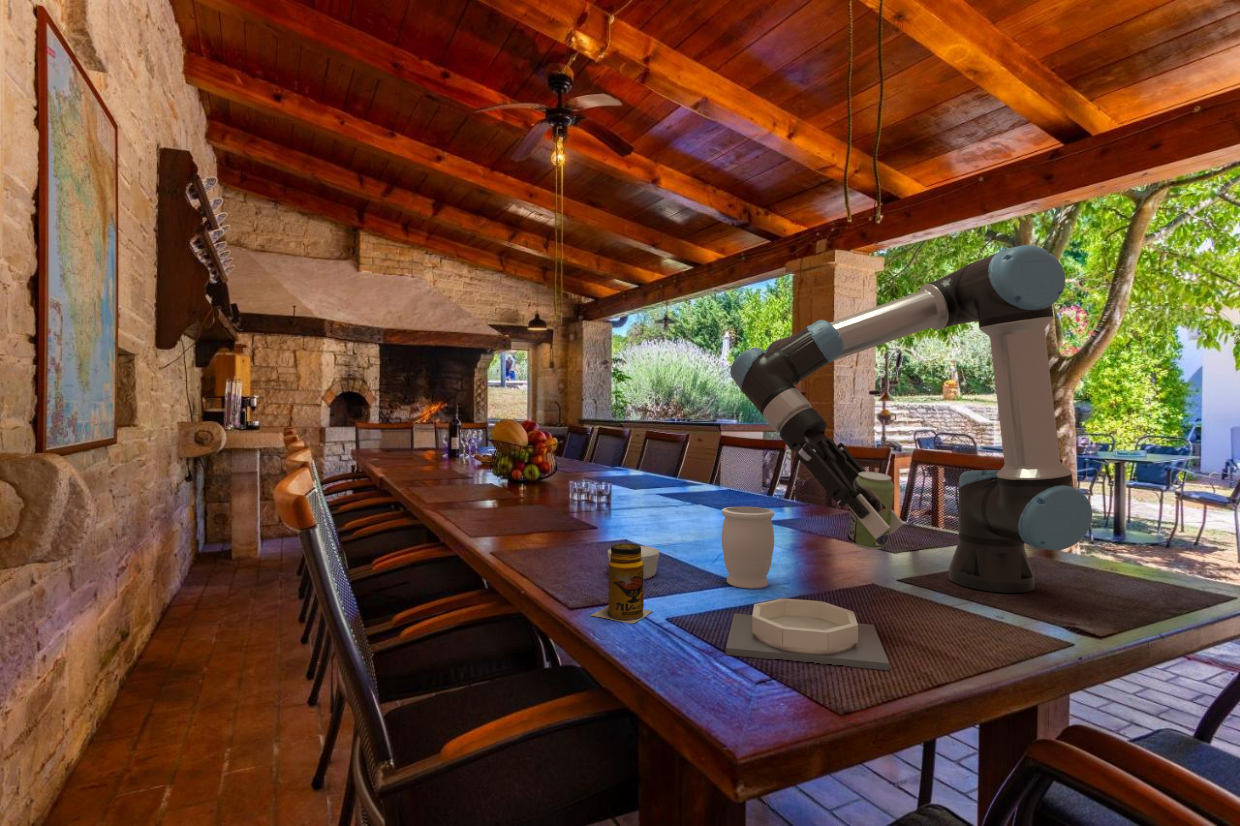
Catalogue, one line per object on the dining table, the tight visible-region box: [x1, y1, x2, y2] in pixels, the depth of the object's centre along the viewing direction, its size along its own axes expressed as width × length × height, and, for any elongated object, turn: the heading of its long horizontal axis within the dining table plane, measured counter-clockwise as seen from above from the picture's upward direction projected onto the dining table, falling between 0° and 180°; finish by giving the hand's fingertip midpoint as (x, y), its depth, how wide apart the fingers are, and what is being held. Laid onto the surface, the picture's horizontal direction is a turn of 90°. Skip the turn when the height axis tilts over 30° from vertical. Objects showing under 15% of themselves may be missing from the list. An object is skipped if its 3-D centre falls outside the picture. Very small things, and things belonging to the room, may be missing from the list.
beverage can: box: [847, 471, 895, 551], centre depth 102 cm, size 6×7×12 cm
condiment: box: [590, 542, 653, 624], centre depth 111 cm, size 7×8×12 cm
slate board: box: [725, 612, 890, 672], centre depth 98 cm, size 22×16×1 cm
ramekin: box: [607, 545, 660, 580], centre depth 137 cm, size 11×11×5 cm
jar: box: [721, 506, 775, 590], centre depth 130 cm, size 11×10×15 cm
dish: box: [751, 598, 859, 655], centre depth 98 cm, size 15×15×3 cm
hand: (889, 530), depth 99 cm, fingers closed on beverage can, 5 cm apart
